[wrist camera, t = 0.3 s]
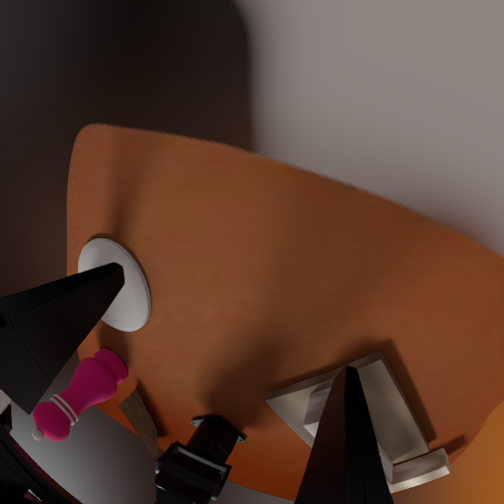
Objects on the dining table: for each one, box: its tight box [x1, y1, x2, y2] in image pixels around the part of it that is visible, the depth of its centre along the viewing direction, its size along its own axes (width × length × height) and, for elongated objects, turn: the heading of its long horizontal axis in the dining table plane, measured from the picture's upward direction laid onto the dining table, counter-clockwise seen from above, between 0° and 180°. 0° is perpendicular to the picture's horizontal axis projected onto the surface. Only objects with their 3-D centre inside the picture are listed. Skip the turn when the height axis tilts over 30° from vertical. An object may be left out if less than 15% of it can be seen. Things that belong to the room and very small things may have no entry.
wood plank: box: [118, 388, 159, 456], centre depth 39 cm, size 15×2×5 cm, turn 7°
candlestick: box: [78, 238, 151, 332], centre depth 19 cm, size 13×13×30 cm
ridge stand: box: [265, 350, 429, 487], centre depth 25 cm, size 14×22×6 cm, turn 37°
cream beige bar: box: [389, 448, 449, 493], centre depth 28 cm, size 18×4×4 cm, turn 130°
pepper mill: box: [32, 348, 128, 441], centre depth 30 cm, size 7×7×20 cm
